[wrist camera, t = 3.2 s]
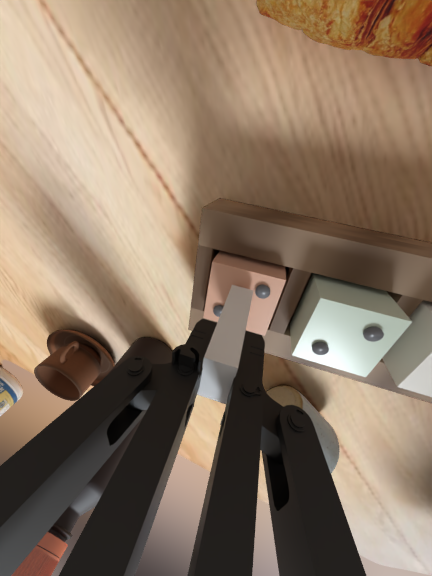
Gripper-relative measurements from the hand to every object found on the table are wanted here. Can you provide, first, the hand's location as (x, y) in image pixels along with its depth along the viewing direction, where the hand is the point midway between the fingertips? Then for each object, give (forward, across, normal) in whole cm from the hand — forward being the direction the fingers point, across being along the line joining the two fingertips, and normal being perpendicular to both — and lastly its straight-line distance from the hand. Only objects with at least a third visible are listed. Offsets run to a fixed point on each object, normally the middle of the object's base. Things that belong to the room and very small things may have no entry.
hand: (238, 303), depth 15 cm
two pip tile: (+3, -7, 0) cm, 8 cm away
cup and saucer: (+7, +22, +22) cm, 32 cm away
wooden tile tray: (+7, -7, 0) cm, 10 cm away
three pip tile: (+4, 0, 0) cm, 4 cm away
